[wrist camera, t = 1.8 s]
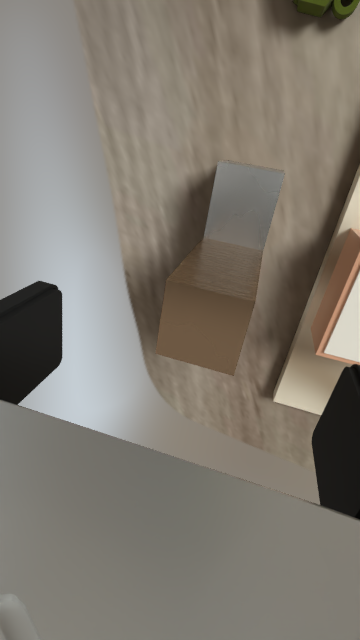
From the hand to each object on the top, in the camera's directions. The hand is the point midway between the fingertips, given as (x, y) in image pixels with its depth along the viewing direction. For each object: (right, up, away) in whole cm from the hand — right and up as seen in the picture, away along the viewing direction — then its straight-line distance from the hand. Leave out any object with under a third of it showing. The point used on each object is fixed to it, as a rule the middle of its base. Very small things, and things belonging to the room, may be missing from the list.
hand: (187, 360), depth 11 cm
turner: (+3, +5, +9) cm, 11 cm away
